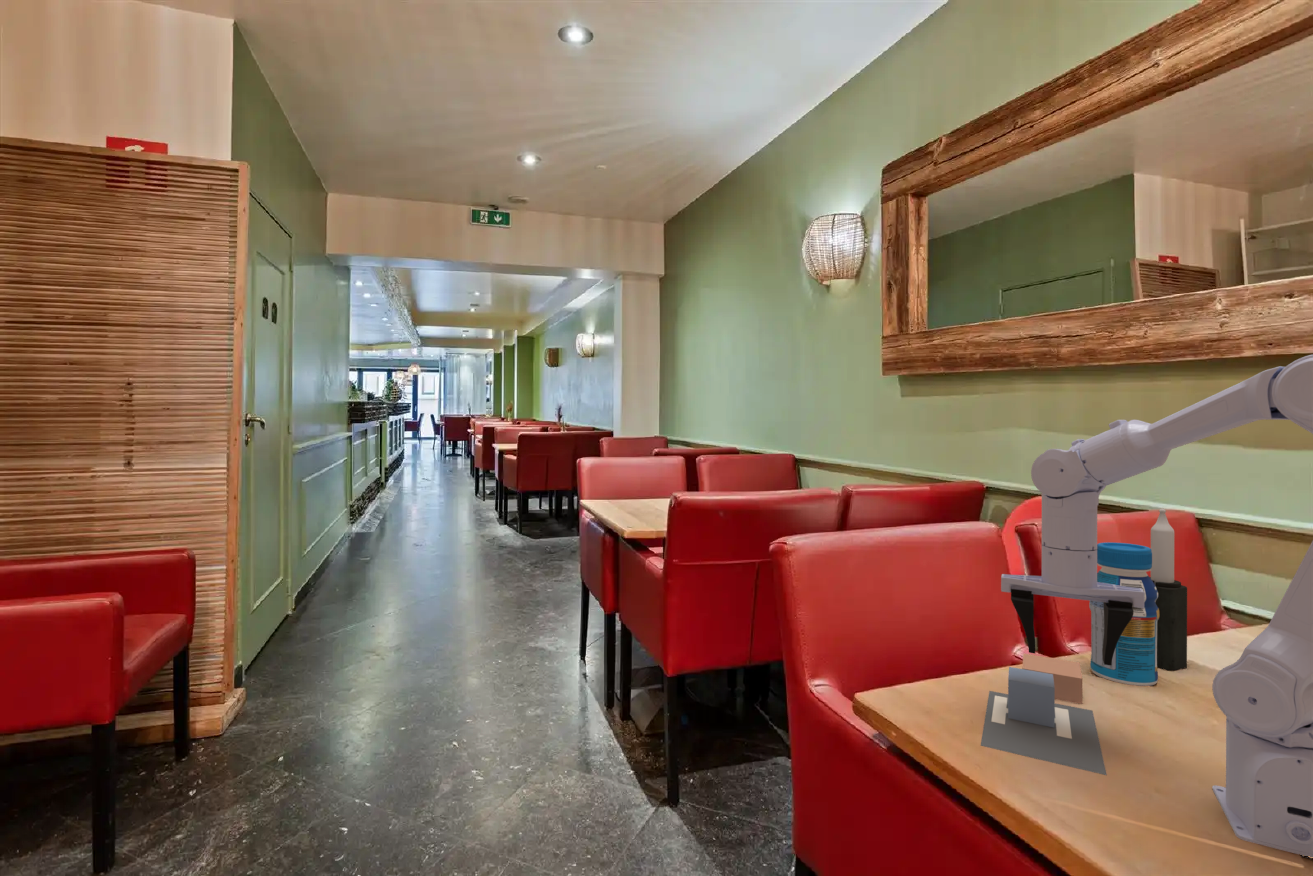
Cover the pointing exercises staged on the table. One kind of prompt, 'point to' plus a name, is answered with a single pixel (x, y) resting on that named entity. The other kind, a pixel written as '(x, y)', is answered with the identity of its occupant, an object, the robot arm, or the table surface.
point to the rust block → (1058, 675)
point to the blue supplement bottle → (1140, 635)
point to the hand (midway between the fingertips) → (1068, 656)
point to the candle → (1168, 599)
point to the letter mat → (1045, 735)
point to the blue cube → (1031, 696)
